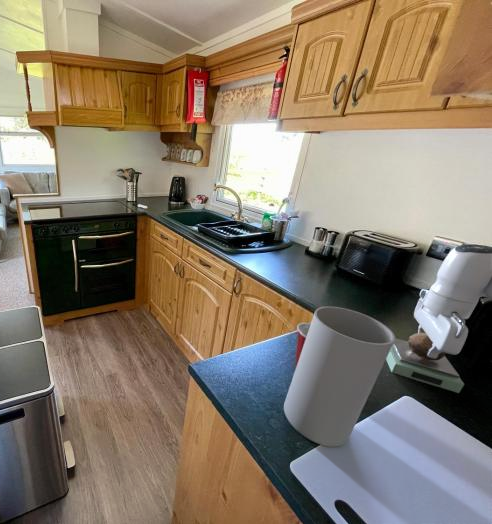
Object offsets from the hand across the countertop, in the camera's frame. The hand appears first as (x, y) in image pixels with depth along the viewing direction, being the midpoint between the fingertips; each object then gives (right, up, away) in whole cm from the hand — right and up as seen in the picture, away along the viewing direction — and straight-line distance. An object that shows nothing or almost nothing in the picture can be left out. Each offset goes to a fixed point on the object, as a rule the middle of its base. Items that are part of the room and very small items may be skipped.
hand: (425, 348), depth 80 cm
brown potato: (0, -2, +1) cm, 2 cm away
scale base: (-1, -6, +2) cm, 7 cm away
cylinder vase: (-42, -11, -17) cm, 46 cm away
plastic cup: (-34, -5, -2) cm, 35 cm away
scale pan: (0, -3, +1) cm, 4 cm away
